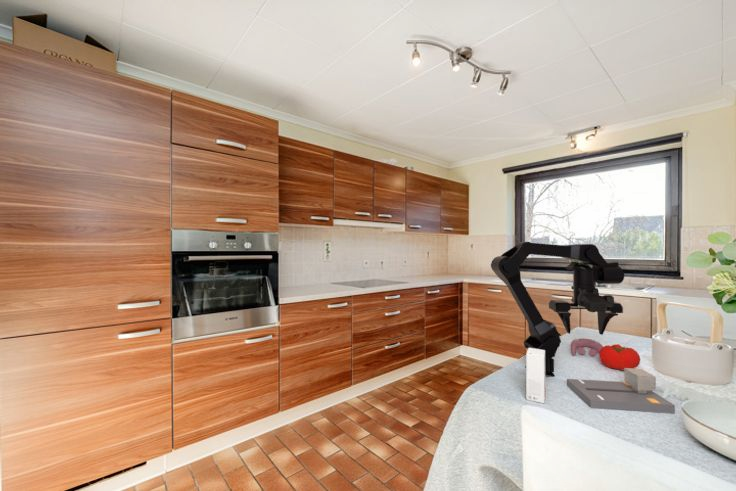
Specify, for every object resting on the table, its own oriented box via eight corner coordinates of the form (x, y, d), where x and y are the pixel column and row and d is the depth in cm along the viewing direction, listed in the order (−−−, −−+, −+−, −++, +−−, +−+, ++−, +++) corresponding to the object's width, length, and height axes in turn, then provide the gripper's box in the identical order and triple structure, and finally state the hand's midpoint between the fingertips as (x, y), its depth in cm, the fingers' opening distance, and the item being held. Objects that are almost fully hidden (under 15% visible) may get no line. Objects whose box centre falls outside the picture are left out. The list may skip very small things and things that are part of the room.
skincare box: (545, 404, 77) (544, 356, 77) (526, 399, 80) (525, 353, 80) (546, 394, 83) (545, 349, 83) (528, 390, 85) (527, 347, 85)
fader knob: (637, 395, 77) (637, 375, 77) (624, 386, 82) (624, 368, 82) (655, 397, 76) (655, 376, 76) (641, 387, 81) (641, 368, 81)
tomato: (644, 368, 99) (644, 348, 99) (631, 376, 93) (631, 354, 93) (608, 359, 108) (607, 340, 108) (594, 366, 102) (593, 346, 102)
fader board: (590, 407, 75) (590, 399, 75) (567, 385, 87) (567, 378, 87) (674, 413, 73) (674, 404, 73) (638, 389, 84) (638, 382, 84)
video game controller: (604, 362, 109) (602, 341, 112) (605, 360, 105) (604, 339, 108) (570, 357, 114) (570, 337, 117) (571, 354, 110) (570, 335, 113)
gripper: (563, 287, 90) (564, 340, 90) (635, 287, 87) (636, 343, 87) (547, 282, 101) (548, 330, 101) (611, 283, 98) (611, 332, 98)
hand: (584, 333), depth 97 cm, fingers open, 9 cm apart
